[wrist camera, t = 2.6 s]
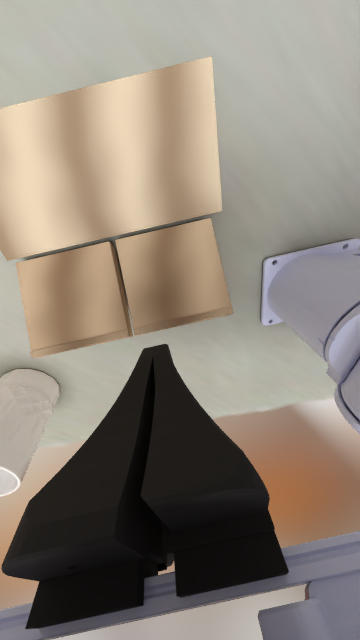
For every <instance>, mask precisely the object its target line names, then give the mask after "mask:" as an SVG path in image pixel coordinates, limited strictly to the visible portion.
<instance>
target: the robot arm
mask: <svg viewBox="0 0 360 640" xmlns="http://www.w3.org/2000/svg"><path fill="white" fill-rule="evenodd" d="M344 245H345V246H344ZM343 246H344V247H343ZM359 246H360V239H357V238H353V239H349V240H345V241H340V242H336V243H331V244H327V245H323V246H318V247H314V248H309V249H305V250H300V251H296V252H292V253H287V254H283V255H278V256H274V257H270V258H267V259H265V260H264V262H263V280H262V306H261V323H262V324H263V325H264V326H266V325H271V324H276V323H280V322H284V323H285V324H286V325H288V326H289V327H290V328H291V329H292V330H293V331H294V332H295V333H296V334H297V335H298V336H299V337H300V338H301V339H303V340H304V341H305V342H306V343H307V344H308V345H309V346H310V347H311V348H312V349H313V350H314V351H315V352H316V353H317V354H319V355H320V356H321V357H322V358H323V359H324V360H325V361H326V362H327V363H328V370H327V372H326V373H327V374H328V375H329V376H330V377H331V378H332V379H333V380H334V381H335V382H336V383H337V384H338V385H337V387H336V389H335V393H334V396H335V401H336V404H337V406H338V408H339V410H340V412H341V413H342V415H343V416H344V417H345V419H346V420H347V421H348V422H349V424H350V425H351V426H352V427H353V428H354V429H355V430H356V431H357V432H358V433H360V250H359ZM274 260H275V263H274V264H272V262H273V261H274ZM269 320H271V321H269ZM269 499H270V498H269V494H268V491H267V489H266V487H265V485H264V483H263V481H262V480H261V478H260V476H259V474H258V473H257V471H256V470H255V468H254V467H253V465H252V464H251V463H250V461H249V460H248V458H247V457H246V455H245V454H244V452H243V451H242V450H241V449H240V448H239V447H238V446H237V445H236V444H235V443H234V442H233V441H232V440H231V439H230V438H229V437H228V436H227V435H226V434H225V433H224V432H223V431H222V430H221V429H220V428H219V426H217V424H216V423H215V422H214V421H213V420H212V419H211V417H210V416H209V415H208V414H207V413H206V412H205V410H204V409H203V408H202V407H201V406H200V404H199V403H198V402H197V400H196V399H195V398H194V396H193V395H192V394H191V392H190V391H189V389H188V388H187V386H186V385H185V383H184V382H183V380H182V378H181V377H180V375H179V373H178V372H177V370H176V368H175V366H174V364H173V360H172V357H171V354H170V350H169V347H168V345H167V344H162V345H158V346H154V347H149V348H145V349H143V351H142V353H141V355H140V357H139V359H138V362H137V364H136V366H135V368H134V370H133V372H132V374H131V376H130V378H129V380H128V381H127V383H126V385H125V387H124V388H123V390H122V392H121V393H120V395H119V397H118V398H117V400H116V402H115V403H114V405H113V406H112V408H111V409H110V410H109V412H108V413H107V415H106V416H105V418H104V419H103V420H102V422H101V423H100V424H99V426H98V427H97V428H96V429H95V431H94V432H93V433H92V435H91V436H90V437H89V438H88V440H87V441H86V442H85V443H84V444H83V445H82V447H81V448H80V449H79V450H78V451H77V452H76V453H75V455H74V456H73V457H72V458H71V459H70V460H69V461H68V462H67V463H66V465H65V466H64V467H63V468H62V469H61V470H60V471H59V472H58V473H57V474H56V475H55V476H54V477H53V478H52V479H51V480H50V481H49V482H48V483H47V484H46V485H45V486H44V487H43V488H42V489H41V490H40V491H39V492H38V493H37V494H36V495H35V496H34V497H33V498H32V499H31V500H30V501H29V503H28V505H27V507H26V509H25V512H24V514H23V516H22V518H21V521H20V523H19V526H18V528H17V530H16V533H15V535H14V537H13V540H12V542H11V545H10V547H9V550H8V552H7V554H6V557H5V559H4V561H3V564H2V571H3V573H4V574H6V575H8V576H12V577H17V578H23V579H29V580H35V581H39V585H38V588H37V592H36V595H35V598H34V601H33V603H29V604H24V605H20V606H15V607H11V608H6V609H1V610H0V640H50V639H55V638H59V637H64V636H69V635H73V634H78V633H82V632H87V631H91V630H96V629H101V628H105V627H110V626H115V625H119V624H124V623H128V622H133V621H138V620H142V619H146V618H151V617H156V616H161V615H165V614H170V613H174V612H179V611H184V610H188V609H193V608H197V607H202V606H207V605H211V604H215V603H220V602H225V601H230V600H234V599H239V598H243V597H248V596H253V595H257V594H262V593H266V592H271V591H276V590H280V589H285V588H289V587H294V586H298V585H303V584H307V585H306V588H305V600H304V601H300V602H296V603H291V604H287V605H282V606H278V607H273V608H269V609H265V610H260V611H259V613H258V619H259V623H260V627H261V631H262V635H263V640H360V531H358V532H353V533H348V534H344V535H340V536H335V537H331V538H326V539H321V540H316V541H312V542H307V543H303V544H298V545H294V546H289V547H285V548H280V545H279V543H278V540H277V537H276V534H275V531H274V525H273V522H272V519H271V516H270V514H269V511H268V505H269ZM173 561H174V563H175V572H170V573H166V574H162V575H158V571H163V570H166V569H167V567H168V566H171V565H172V563H173ZM308 583H309V584H308Z"/></svg>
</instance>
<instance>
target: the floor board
mask: <svg viewBox="0 0 360 640" xmlns="http://www.w3.org/2000/svg"><path fill="white" fill-rule="evenodd" d="M220 211H222V199H221V184H220V169H219V155H218V140H217V125H216V110H215V95H214V80H213V66H212V56H211V57H207V58H203V59H199V60H195V61H190V62H186V63H182V64H178V65H174V66H170V67H166V68H162V69H158V70H154V71H150V72H146V73H142V74H138V75H134V76H129V77H125V78H121V79H117V80H113V81H109V82H105V83H101V84H97V85H93V86H89V87H85V88H81V89H77V90H73V91H68V92H64V93H60V94H56V95H52V96H48V97H44V98H40V99H36V100H32V101H28V102H24V103H20V104H16V105H12V106H7V107H3V108H0V250H1V252H2V253H3V255H4V256H5V258H6V259H7V261H8V260H13V259H17V258H21V257H26V256H30V255H34V254H39V253H43V252H47V251H52V250H56V249H60V248H65V247H69V246H73V245H78V244H82V243H86V242H91V241H95V240H99V239H104V238H108V237H112V236H116V235H121V234H125V233H129V232H134V231H138V230H142V229H147V228H151V227H155V226H160V225H164V224H168V223H173V222H177V221H181V220H186V219H190V218H194V217H199V216H203V215H207V214H211V213H216V212H220Z"/></svg>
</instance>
